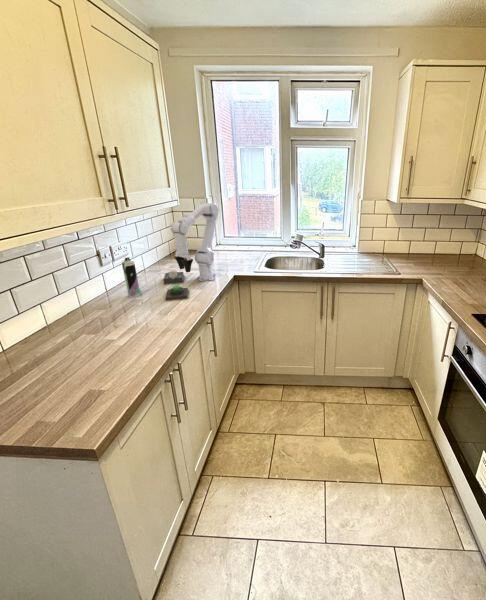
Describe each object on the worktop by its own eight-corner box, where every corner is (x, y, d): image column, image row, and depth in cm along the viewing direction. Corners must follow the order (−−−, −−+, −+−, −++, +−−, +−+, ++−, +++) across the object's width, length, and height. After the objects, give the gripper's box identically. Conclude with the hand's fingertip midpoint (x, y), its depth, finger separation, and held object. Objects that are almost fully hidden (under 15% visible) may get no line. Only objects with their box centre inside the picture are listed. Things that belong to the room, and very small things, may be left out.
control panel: (166, 277, 189) (165, 272, 187) (184, 276, 191) (183, 271, 190) (164, 285, 177) (163, 279, 176) (183, 283, 180) (182, 278, 178)
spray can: (135, 297, 159) (127, 259, 151) (126, 296, 160) (118, 258, 152) (142, 293, 164) (135, 256, 156) (133, 292, 165) (126, 255, 157)
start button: (173, 289, 163) (172, 285, 162) (180, 288, 164) (180, 285, 163) (172, 291, 159) (172, 288, 159) (180, 290, 160) (179, 287, 160)
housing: (168, 292, 167) (167, 286, 165) (188, 290, 169) (187, 284, 168) (166, 300, 156) (164, 294, 155) (187, 298, 159) (186, 292, 157)
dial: (169, 276, 182) (168, 269, 181) (177, 275, 183) (176, 269, 182) (169, 278, 178) (168, 271, 177) (177, 277, 180) (176, 271, 178)
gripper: (168, 244, 168) (172, 268, 173) (180, 249, 158) (183, 275, 163) (181, 242, 172) (184, 266, 177) (193, 247, 162) (196, 272, 168)
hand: (185, 270), depth 171 cm, fingers open, 7 cm apart
